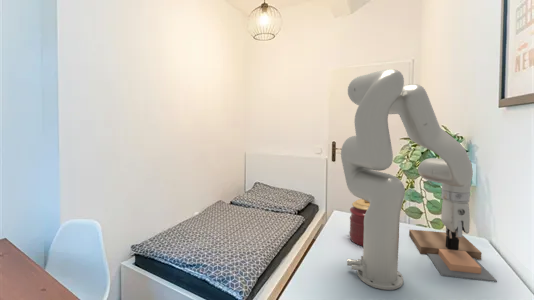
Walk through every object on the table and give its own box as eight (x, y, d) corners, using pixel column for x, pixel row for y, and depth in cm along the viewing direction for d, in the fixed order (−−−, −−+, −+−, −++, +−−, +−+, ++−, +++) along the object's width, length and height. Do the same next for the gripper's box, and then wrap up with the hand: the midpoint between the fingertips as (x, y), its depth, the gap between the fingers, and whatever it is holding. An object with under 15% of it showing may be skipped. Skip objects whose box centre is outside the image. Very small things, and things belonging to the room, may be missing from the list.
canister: (382, 251, 93) (383, 203, 91) (345, 242, 100) (346, 198, 98) (386, 237, 104) (388, 194, 102) (353, 230, 111) (354, 190, 109)
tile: (450, 270, 80) (450, 264, 80) (438, 254, 90) (438, 248, 89) (480, 273, 78) (481, 267, 78) (465, 256, 88) (465, 251, 87)
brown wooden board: (420, 253, 91) (420, 246, 91) (409, 235, 106) (409, 229, 105) (481, 259, 87) (481, 252, 86) (460, 239, 101) (460, 233, 101)
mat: (441, 275, 78) (441, 274, 78) (427, 254, 90) (427, 253, 90) (497, 282, 75) (497, 280, 75) (474, 259, 87) (474, 258, 87)
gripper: (480, 203, 77) (476, 261, 79) (458, 190, 92) (455, 239, 94) (451, 201, 79) (448, 258, 81) (434, 189, 94) (431, 237, 96)
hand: (451, 248), depth 88 cm, fingers closed
